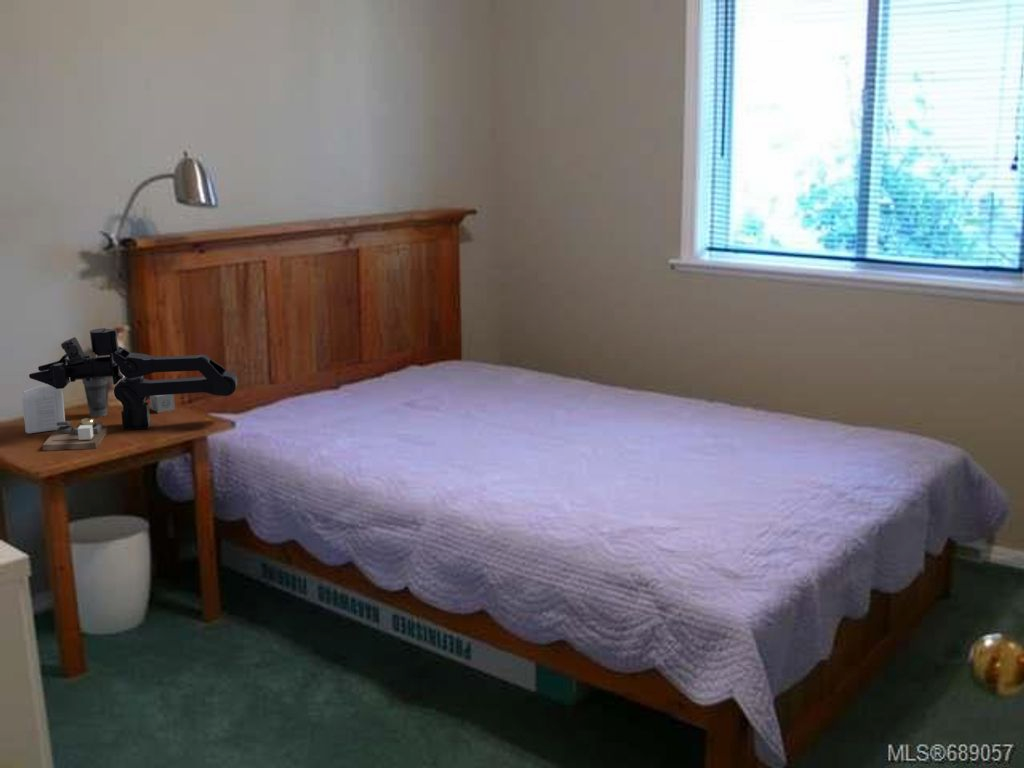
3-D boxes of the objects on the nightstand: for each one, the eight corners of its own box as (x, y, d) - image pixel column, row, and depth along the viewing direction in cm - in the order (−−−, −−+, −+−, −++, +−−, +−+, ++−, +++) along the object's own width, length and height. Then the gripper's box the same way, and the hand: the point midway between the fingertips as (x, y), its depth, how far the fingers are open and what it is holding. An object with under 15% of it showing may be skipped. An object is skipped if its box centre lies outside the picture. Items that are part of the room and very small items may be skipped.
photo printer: (64, 425, 304) (59, 381, 301) (67, 429, 300) (63, 385, 297) (24, 431, 298) (19, 387, 295) (27, 435, 295) (22, 390, 292)
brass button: (95, 424, 294) (95, 417, 294) (93, 428, 291) (92, 421, 291) (83, 425, 294) (82, 418, 294) (80, 428, 291) (79, 421, 290)
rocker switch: (72, 424, 294) (72, 421, 294) (67, 425, 290) (67, 422, 290) (61, 424, 294) (61, 421, 294) (56, 425, 289) (56, 422, 289)
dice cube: (167, 407, 322) (165, 390, 321) (174, 410, 318) (173, 393, 317) (150, 410, 319) (149, 393, 317) (158, 413, 315) (156, 396, 314)
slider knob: (93, 435, 287) (92, 424, 287) (90, 439, 285) (89, 428, 284) (81, 436, 287) (80, 425, 286) (78, 439, 284) (77, 428, 283)
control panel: (107, 432, 297) (106, 422, 296) (95, 448, 283) (94, 437, 283) (56, 434, 295) (55, 424, 294) (42, 450, 282) (41, 439, 281)
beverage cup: (93, 411, 317) (86, 343, 312) (117, 412, 316) (110, 344, 311) (80, 418, 310) (73, 349, 305) (104, 419, 309) (97, 349, 304)
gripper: (97, 332, 304) (38, 336, 302) (83, 345, 286) (19, 349, 284) (103, 371, 307) (44, 375, 304) (88, 387, 289) (26, 391, 286)
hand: (34, 372), depth 295 cm, fingers open, 9 cm apart
